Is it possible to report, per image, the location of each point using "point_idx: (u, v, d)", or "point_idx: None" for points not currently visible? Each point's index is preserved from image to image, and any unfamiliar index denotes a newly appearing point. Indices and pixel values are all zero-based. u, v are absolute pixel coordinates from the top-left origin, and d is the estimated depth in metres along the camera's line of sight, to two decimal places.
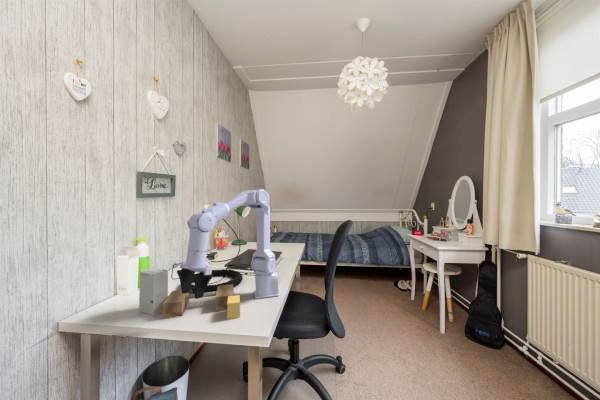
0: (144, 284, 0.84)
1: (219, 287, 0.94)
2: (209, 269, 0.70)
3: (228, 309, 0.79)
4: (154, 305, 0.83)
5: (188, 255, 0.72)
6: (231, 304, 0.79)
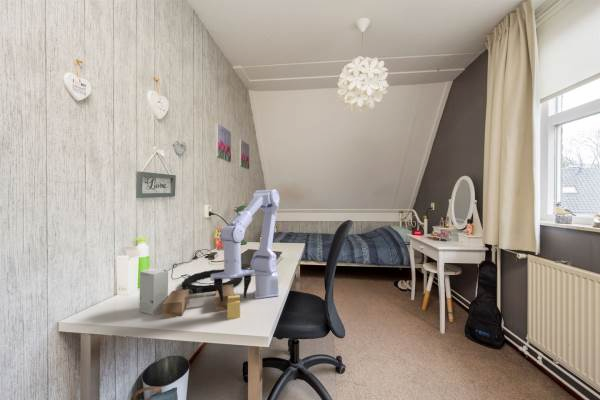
0: (144, 284, 0.84)
1: None
2: (254, 271, 0.84)
3: (228, 309, 0.79)
4: (154, 305, 0.83)
5: (232, 265, 0.79)
6: (231, 304, 0.79)
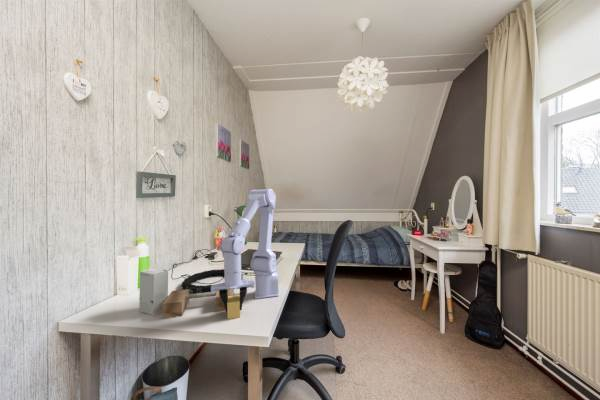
0: (144, 284, 0.84)
1: None
2: (254, 282, 0.84)
3: (228, 309, 0.79)
4: (154, 305, 0.83)
5: (232, 277, 0.79)
6: (231, 304, 0.79)
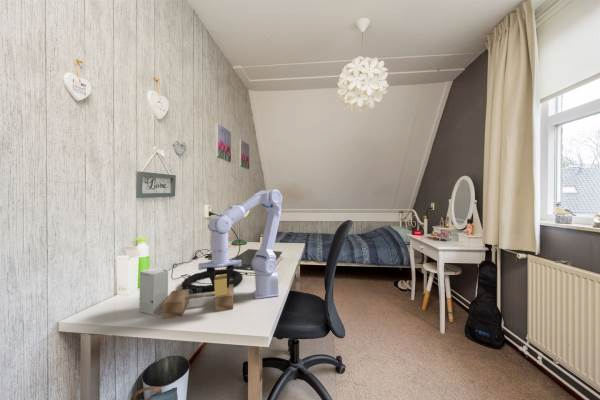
0: (144, 284, 0.84)
1: None
2: None
3: (215, 286, 0.81)
4: (154, 305, 0.83)
5: (219, 255, 0.82)
6: (218, 281, 0.81)
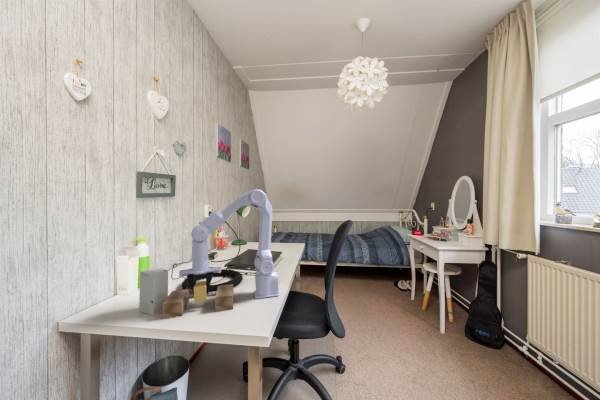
0: (144, 284, 0.84)
1: (219, 287, 0.94)
2: (220, 268, 0.91)
3: (194, 292, 0.85)
4: (154, 305, 0.83)
5: (199, 262, 0.86)
6: (197, 288, 0.85)
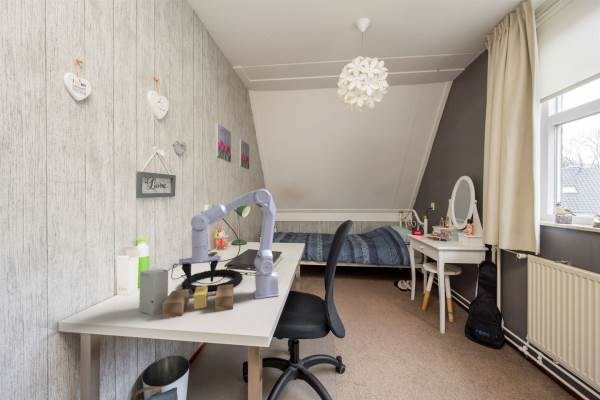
0: (144, 284, 0.84)
1: (219, 287, 0.94)
2: (220, 257, 0.91)
3: (194, 300, 0.85)
4: (154, 305, 0.83)
5: (198, 251, 0.86)
6: (197, 296, 0.85)
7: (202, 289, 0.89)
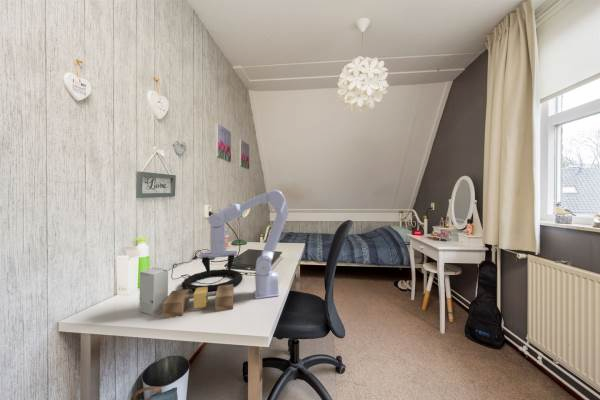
0: (144, 284, 0.84)
1: (219, 287, 0.94)
2: (236, 251, 0.98)
3: (194, 299, 0.85)
4: (154, 305, 0.83)
5: (217, 246, 0.93)
6: (197, 294, 0.85)
7: (202, 289, 0.89)
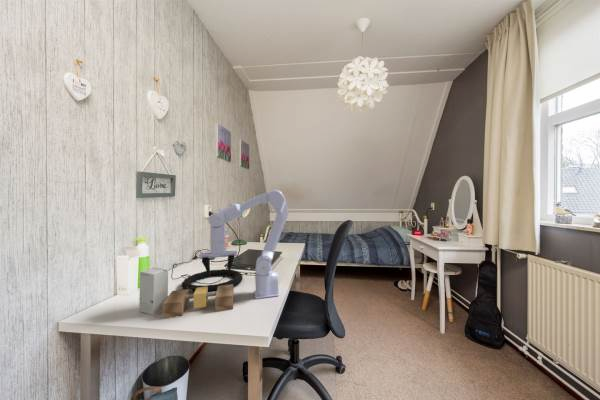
0: (144, 284, 0.84)
1: (219, 287, 0.94)
2: (236, 251, 0.98)
3: (194, 299, 0.85)
4: (154, 305, 0.83)
5: (217, 246, 0.93)
6: (197, 294, 0.85)
7: (202, 289, 0.89)
